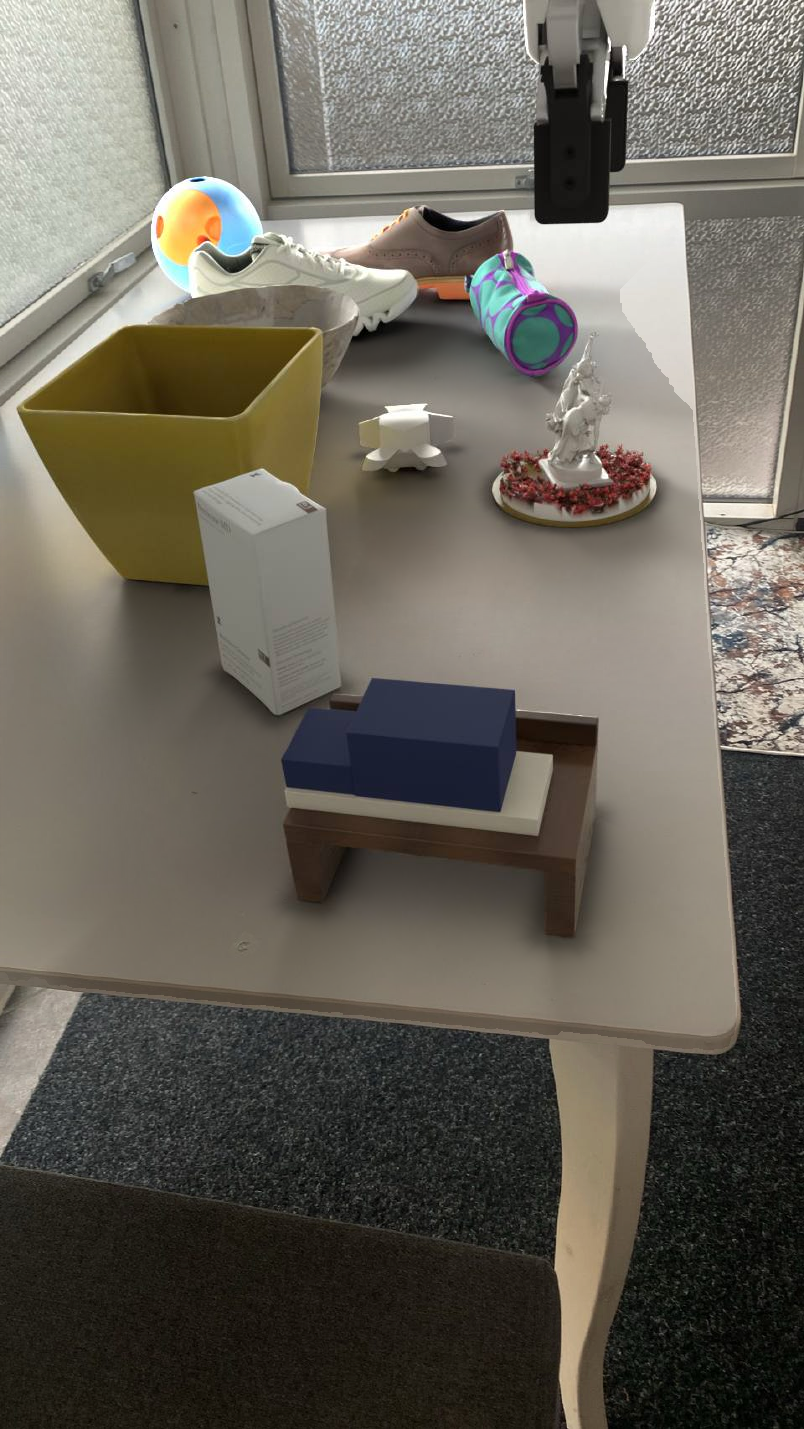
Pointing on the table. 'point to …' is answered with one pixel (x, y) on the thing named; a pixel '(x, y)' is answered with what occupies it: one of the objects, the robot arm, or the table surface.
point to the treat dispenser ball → (201, 224)
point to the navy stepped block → (420, 759)
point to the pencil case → (521, 314)
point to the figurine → (576, 465)
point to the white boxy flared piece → (405, 438)
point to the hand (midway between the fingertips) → (583, 195)
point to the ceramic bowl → (276, 315)
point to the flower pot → (174, 432)
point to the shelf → (554, 850)
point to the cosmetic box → (270, 588)
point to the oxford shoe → (432, 248)
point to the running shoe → (302, 276)
